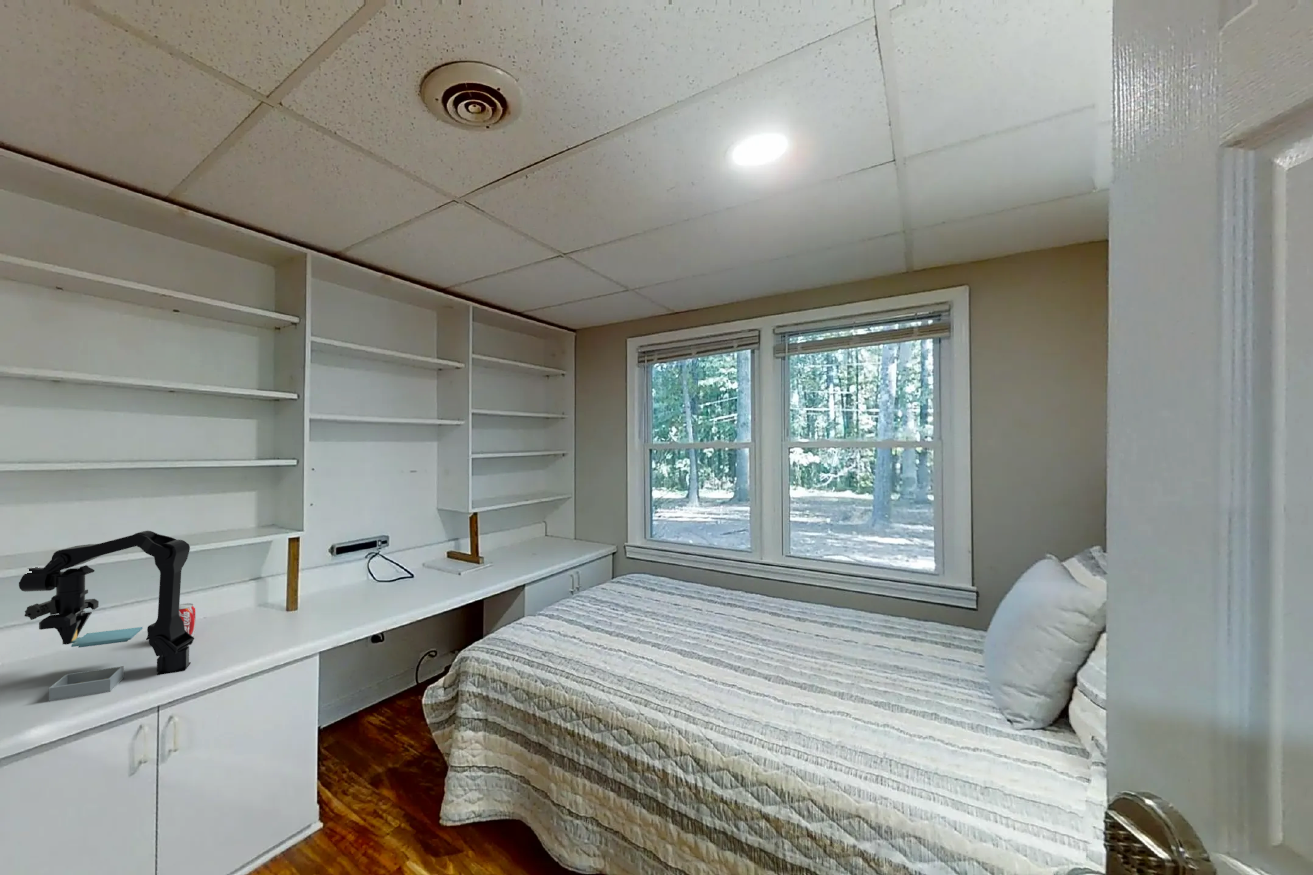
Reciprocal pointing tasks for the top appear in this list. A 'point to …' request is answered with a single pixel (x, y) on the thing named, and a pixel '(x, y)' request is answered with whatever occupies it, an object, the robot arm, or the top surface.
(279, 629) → the top surface
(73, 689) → the tub
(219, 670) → the top surface
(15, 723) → the top surface
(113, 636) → the lid
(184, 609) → the soda can
